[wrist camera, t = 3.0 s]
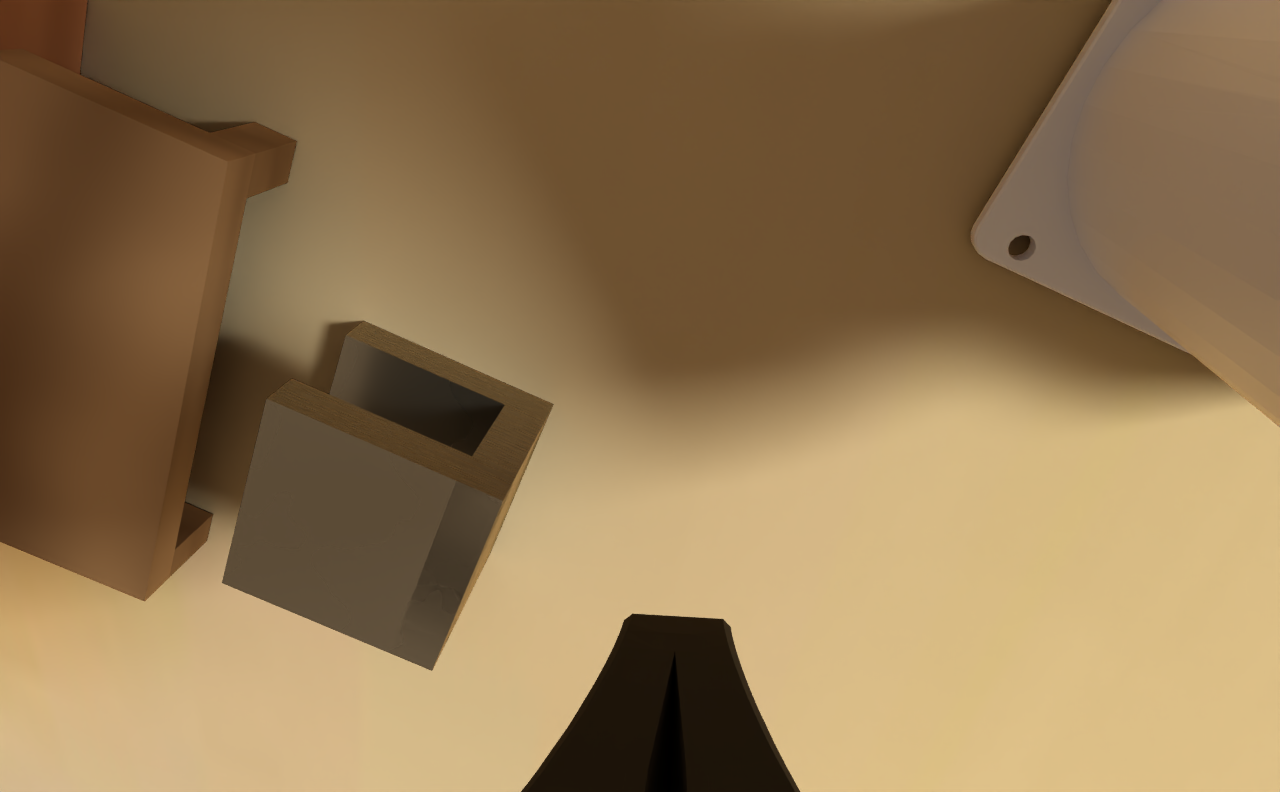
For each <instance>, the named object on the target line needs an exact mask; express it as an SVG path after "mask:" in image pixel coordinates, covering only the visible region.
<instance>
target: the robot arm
mask: <svg viewBox="0 0 1280 792" xmlns="http://www.w3.org/2000/svg"><path fill="white" fill-rule="evenodd" d="M1021 235H1026V236H1029V237H1030V241H1031V242H1030V245H1029V248H1028V249H1027V250H1026V251H1025V252H1024V253H1023V254H1020V255H1016V256H1015V255H1009V251H1008V248H1009V245H1010V242H1011V241H1012V240H1013V239H1014V238H1015V237H1018V236H1021ZM971 243H972V245H973V247H974V248H975V250H976V251H977V252H978V254H980V255H981V256H982V257H984V258H985V259H987V260H989V261H991V262H993V263H995V264H998V265H1000V266H1002V267H1004V268H1006V269H1008V270H1010V271H1013V272H1015V273H1017V274H1019V275H1021V276H1023V277H1026V278H1028V279H1030V280H1032V281H1034V282H1036V283H1038V284H1041V285H1043V286H1045V287H1047V288H1049V289H1051V290H1054V291H1056V292H1058V293H1060V294H1062V295H1064V296H1066V297H1069V298H1071V299H1073V300H1075V301H1077V302H1079V303H1081V304H1084V305H1086V306H1088V307H1090V308H1092V309H1094V310H1097V311H1099V312H1101V313H1103V314H1105V315H1107V316H1109V317H1112V318H1114V319H1116V320H1118V321H1120V322H1122V323H1125V324H1127V325H1129V326H1131V327H1133V328H1135V329H1137V330H1140V331H1142V332H1144V333H1146V334H1148V335H1150V336H1152V337H1155V338H1157V339H1159V340H1161V341H1163V342H1165V343H1168V344H1170V345H1172V346H1174V347H1176V348H1178V349H1180V350H1183V351H1185V352H1187V353H1189V354H1191V355H1193V356H1194V357H1195V358H1197V359H1198V360H1199V361H1200V362H1201V363H1203V364H1204V365H1205V366H1206V367H1207V368H1209V369H1210V370H1211V371H1212V372H1214V373H1215V374H1216V375H1217V376H1218V377H1220V378H1221V379H1222V380H1223V381H1224V382H1226V383H1227V384H1228V385H1229V386H1230V387H1232V388H1233V389H1234V390H1235V391H1237V392H1238V393H1239V394H1240V395H1241V396H1243V397H1244V398H1245V399H1246V400H1247V401H1249V402H1250V403H1251V404H1252V405H1253V406H1255V407H1256V408H1257V409H1258V410H1260V411H1261V412H1262V413H1263V414H1264V415H1266V416H1267V417H1268V418H1269V419H1270V420H1272V421H1273V422H1274V423H1275V424H1276V425H1278V426H1279V427H1280V0H1112V2H1111V3H1110V5H1109V6H1108V8H1107V10H1106V11H1105V13H1104V14H1103V16H1102V18H1101V19H1100V21H1099V23H1098V24H1097V26H1096V27H1095V29H1094V31H1093V32H1092V34H1091V35H1090V37H1089V39H1088V40H1087V42H1086V44H1085V45H1084V47H1083V48H1082V50H1081V52H1080V53H1079V55H1078V57H1077V58H1076V60H1075V61H1074V63H1073V65H1072V66H1071V68H1070V69H1069V71H1068V73H1067V74H1066V76H1065V78H1064V79H1063V81H1062V82H1061V84H1060V86H1059V87H1058V89H1057V90H1056V92H1055V94H1054V95H1053V97H1052V99H1051V100H1050V102H1049V103H1048V105H1047V107H1046V108H1045V110H1044V111H1043V113H1042V115H1041V116H1040V118H1039V120H1038V121H1037V123H1036V124H1035V126H1034V128H1033V129H1032V131H1031V132H1030V134H1029V136H1028V137H1027V139H1026V141H1025V142H1024V144H1023V145H1022V147H1021V149H1020V150H1019V152H1018V153H1017V155H1016V157H1015V158H1014V160H1013V162H1012V163H1011V165H1010V166H1009V168H1008V170H1007V171H1006V173H1005V174H1004V176H1003V178H1002V179H1001V181H1000V183H999V184H998V186H997V187H996V189H995V191H994V192H993V194H992V195H991V197H990V199H989V200H988V202H987V204H986V205H985V207H984V208H983V210H982V212H981V213H980V215H979V216H978V218H977V220H976V221H975V223H974V225H973V228H972V230H971ZM521 792H800V790H799V789H798V787H797V785H796V783H795V781H794V780H793V778H792V776H791V774H790V772H789V771H788V769H787V767H786V765H785V763H784V761H783V759H782V757H781V755H780V753H779V751H778V750H777V748H776V746H775V744H774V741H773V739H772V737H771V735H770V733H769V731H768V729H767V727H766V724H765V722H764V720H763V718H762V716H761V714H760V712H759V710H758V707H757V705H756V703H755V700H754V698H753V696H752V693H751V691H750V688H749V686H748V683H747V680H746V678H745V675H744V673H743V670H742V667H741V664H740V661H739V658H738V655H737V652H736V649H735V645H734V641H733V637H732V633H731V627H730V626H729V625H728V624H727V623H726V622H725V621H724V620H723V619H713V618H696V617H679V616H662V615H645V614H632V615H630V616H629V617H628V618H627V619H625V620H624V622H623V625H622V628H621V631H620V633H619V636H618V638H617V640H616V643H615V645H614V647H613V649H612V651H611V653H610V655H609V657H608V659H607V661H606V663H605V665H604V667H603V669H602V671H601V673H600V674H599V676H598V678H597V680H596V682H595V684H594V685H593V687H592V689H591V690H590V692H589V694H588V695H587V697H586V698H585V700H584V702H583V703H582V705H581V707H580V708H579V710H578V712H577V713H576V715H575V717H574V718H573V720H572V721H571V723H570V725H569V726H568V728H567V729H566V731H565V732H564V733H563V735H562V736H561V738H560V739H559V741H558V742H557V743H556V745H555V746H554V748H553V749H552V750H551V752H550V753H549V755H548V756H547V758H546V759H545V760H544V762H543V763H542V765H541V766H540V768H539V769H538V770H537V772H536V773H535V774H534V776H533V777H532V778H531V780H530V781H529V782H528V784H527V785H526V786H525V787H524V789H523V790H522V791H521Z"/></svg>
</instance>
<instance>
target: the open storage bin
mask: <svg viewBox="0 0 1280 792" xmlns="http://www.w3.org/2000/svg"><path fill="white" fill-rule="evenodd" d="M552 407H553V404H552V403H550V402H547V401H545V400H543V399H540V398H538V397H536V396H534V395H531V394H529V393H527V392H525V391H522V390H520V389H518V388H515V387H513V386H511V385H509V384H506V383H504V382H502V381H500V380H497V379H495V378H493V377H490V376H488V375H486V374H484V373H481V372H479V371H477V370H475V369H472V368H470V367H468V366H465V365H463V364H461V363H459V362H456V361H454V360H452V359H450V358H447V357H445V356H443V355H440V354H438V353H436V352H434V351H431V350H429V349H427V348H425V347H422V346H420V345H418V344H415V343H413V342H411V341H409V340H406V339H404V338H402V337H400V336H397V335H395V334H393V333H390V332H388V331H386V330H384V329H381V328H379V327H377V326H375V325H372V324H370V323H368V322H365V321H363V322H362V323H360V324H359V325H358V326H357V327H355V328H354V329H353V330H352V331H350V332H349V333H348V334H347V335H346V337H345V340H344V344H343V347H342V351H341V354H340V358H339V362H338V365H337V369H336V372H335V376H334V379H333V383H332V386H331V390H330V394H327V393H325V392H323V391H320V390H318V389H316V388H314V387H311V386H309V385H307V384H304V383H302V382H300V381H297V380H295V379H293V378H292V379H290V380H289V381H288V382H287V383H285V384H284V385H283V386H282V387H280V388H279V389H278V390H277V391H275V392H274V393H273V394H272V395H270V396H269V397H268V398H267V399H266V403H265V407H264V411H263V415H262V419H261V423H260V428H259V432H258V436H257V440H256V444H255V448H254V452H253V457H252V461H251V465H250V469H249V473H248V477H247V481H246V485H245V490H244V494H243V498H242V502H241V506H240V510H239V514H238V519H237V523H236V527H235V531H234V535H233V539H232V543H231V548H230V552H229V556H228V560H227V564H226V568H225V572H224V577H223V581H222V583H223V584H226V585H228V586H231V587H233V588H235V589H238V590H240V591H243V592H245V593H247V594H250V595H252V596H255V597H257V598H259V599H262V600H264V601H266V602H269V603H271V604H274V605H276V606H278V607H281V608H283V609H286V610H288V611H290V612H293V613H295V614H298V615H300V616H302V617H305V618H307V619H310V620H312V621H314V622H317V623H319V624H321V625H324V626H326V627H329V628H331V629H333V630H336V631H338V632H341V633H343V634H345V635H348V636H350V637H353V638H355V639H357V640H360V641H362V642H364V643H367V644H369V645H372V646H374V647H376V648H379V649H381V650H384V651H386V652H388V653H391V654H393V655H396V656H398V657H400V658H403V659H405V660H408V661H410V662H412V663H415V664H417V665H419V666H422V667H424V668H427V669H429V670H431V671H432V670H433V668H434V666H435V664H436V662H437V660H438V658H439V656H440V654H441V652H442V650H443V648H444V646H445V644H446V642H447V640H448V638H449V636H450V634H451V632H452V630H453V628H454V626H455V624H456V622H457V620H458V618H459V616H460V614H461V612H462V610H463V608H464V605H465V603H466V601H467V599H468V597H469V595H470V593H471V591H472V589H473V587H474V585H475V583H476V581H477V579H478V577H479V575H480V573H481V571H482V569H483V567H484V565H485V563H486V561H487V559H488V557H489V555H490V553H491V551H492V548H493V546H494V543H495V541H496V539H497V536H498V534H499V532H500V529H501V527H502V525H503V522H504V520H505V518H506V515H507V513H508V510H509V508H510V506H511V503H512V501H513V499H514V496H515V494H516V492H517V489H518V487H519V485H520V482H521V480H522V477H523V475H524V473H525V470H526V468H527V466H528V463H529V461H530V459H531V456H532V454H533V451H534V449H535V447H536V444H537V442H538V440H539V437H540V435H541V433H542V430H543V428H544V426H545V423H546V421H547V418H548V416H549V414H550V411H551V409H552Z"/></svg>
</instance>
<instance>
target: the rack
mask: <svg viewBox="0 0 1280 792" xmlns="http://www.w3.org/2000/svg"><path fill="white" fill-rule="evenodd" d="M86 10H87V0H0V542H2V543H5V544H7V545H9V546H12V547H14V548H17V549H19V550H21V551H24V552H26V553H29V554H31V555H34V556H36V557H38V558H41V559H43V560H46V561H48V562H50V563H53V564H55V565H58V566H60V567H63V568H65V569H67V570H70V571H72V572H75V573H77V574H79V575H82V576H84V577H87V578H89V579H92V580H94V581H96V582H99V583H101V584H104V585H106V586H109V587H111V588H113V589H116V590H118V591H121V592H123V593H125V594H128V595H130V596H133V597H135V598H138V599H140V600H142V601H146V600H147V599H148V598H149V597H150V596H151V595H152V594H153V593H154V592H155V591H156V590H157V589H158V588H159V587H160V586H161V585H162V584H163V583H164V582H165V581H166V580H167V579H168V578H169V577H170V576H171V575H172V574H173V573H174V572H175V571H176V570H177V569H178V568H179V567H181V566H182V565H183V564H184V563H185V562H186V561H187V560H188V559H189V558H190V557H191V556H192V555H193V554H194V553H195V552H196V551H197V550H198V549H199V548H200V547H201V546H202V545H203V544H204V543H205V542H206V541H207V538H208V534H209V529H210V525H211V520H212V516H213V514H211V513H209V512H206V511H204V510H202V509H199V508H197V507H194V506H192V505H190V504H187V503H185V498H186V493H187V488H188V483H189V478H190V473H191V468H192V463H193V458H194V454H195V449H196V444H197V439H198V434H199V429H200V424H201V419H202V414H203V409H204V405H205V400H206V395H207V390H208V385H209V380H210V375H211V370H212V365H213V360H214V356H215V351H216V346H217V341H218V336H219V331H220V326H221V321H222V316H223V311H224V307H225V302H226V297H227V292H228V287H229V282H230V277H231V272H232V267H233V263H234V258H235V253H236V248H237V243H238V238H239V233H240V228H241V223H242V218H243V214H244V209H245V204H246V199H247V198H249V197H251V196H254V195H256V194H259V193H262V192H264V191H267V190H270V189H272V188H275V187H277V186H280V185H283V184H285V183H287V182H288V178H289V174H290V169H291V165H292V160H293V156H294V151H295V147H296V142H297V141H296V140H293V139H291V138H289V137H287V136H284V135H282V134H280V133H278V132H276V131H273V130H271V129H269V128H267V127H264V126H262V125H260V124H258V123H256V122H253V123H248V124H244V125H240V126H236V127H232V128H228V129H223V130H219V131H215V132H211V133H209V132H207V131H205V130H202V129H200V128H198V127H196V126H193V125H191V124H189V123H187V122H184V121H182V120H180V119H178V118H176V117H173V116H171V115H169V114H167V113H164V112H162V111H160V110H158V109H155V108H153V107H151V106H149V105H147V104H144V103H142V102H140V101H138V100H135V99H133V98H131V97H129V96H126V95H124V94H122V93H120V92H118V91H115V90H113V89H111V88H109V87H106V86H104V85H102V84H100V83H97V82H95V81H93V80H91V79H89V78H86V77H84V76H82V75H80V68H81V58H82V48H83V39H84V29H85V20H86Z"/></svg>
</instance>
